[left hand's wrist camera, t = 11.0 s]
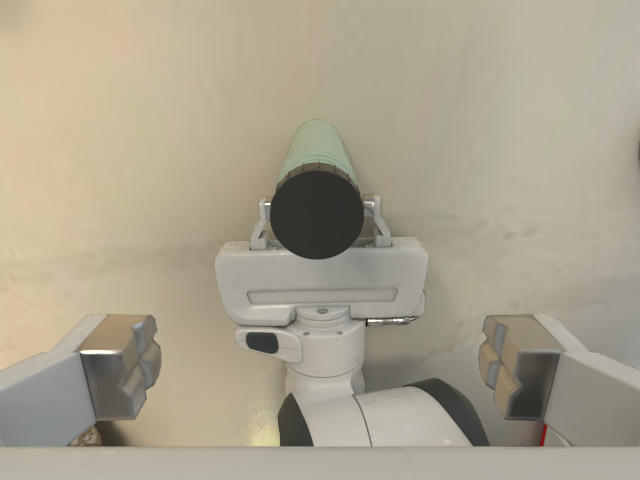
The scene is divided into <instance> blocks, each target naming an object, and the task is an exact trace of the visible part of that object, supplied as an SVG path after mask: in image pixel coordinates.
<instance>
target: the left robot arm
mask: <svg viewBox="0 0 640 480" xmlns="http://www.w3.org/2000/svg"><path fill="white" fill-rule="evenodd" d="M156 332H157V326H156V321H155V318H154V317H153V316H152V315H128V314H90V315H86V316H85V317H84V318H83V319H82V320H81V321H80V322H79V323H78V324H77V325H76V326H75V327H74V328H73V329H72V330H71V331H70V332H69V333H68V334H67V335H66V336H65V337H64V338H63V339H62V340H61V341H60V342H59V343H58V344H57V345H56V346H55V347H54V348H53V349H52V350H51V351H50V352H42V353H39V354H37V355H35V356H32V357H30V358H28V359H26V360H23V361H21V362H19V363H17V364H14V365H12V366H10V367H7V368H5V369H3V370H1V371H0V480H640V371H639V370H637V369H635V368H632V367H630V366H628V365H626V364H623V363H621V362H619V361H617V360H614V359H612V358H610V357H608V356H605V355H603V354H601V353H598V352H590V351H589V350H588V349H587V348H586V347H585V346H584V345H583V344H582V343H581V342H580V341H579V340H578V339H577V338H576V337H575V336H574V335H573V334H572V333H571V332H570V331H569V330H568V329H567V328H566V327H565V326H564V325H563V324H562V323H561V322H560V321H559V320H558V319H557V318H556V317H555V316H554V315H551V314H527V315H490V316H487V317H486V319H485V321H484V325H483V332H484V334H485V335H486V337H487V339H486V340H485V342H484V343H483V344H482V345H481V346H480V350H479V369H480V372H481V376H482V378H483V380H484V382H485V384H486V385H487V386H488V387H490V388H491V389H493V390H494V391H495V392H494V397H493V399H494V401H495V402H496V404H497V406H498V408H499V410H500V411H501V413H502V415H503V417H504V419H505V420H530V421H544V422H543V423H545V424H546V425H547V426H548V427H550V428H551V429H552V430H553V431H555V432H556V433H557V434H559V435H560V436H561V437H562V438H564V439H565V440H566V441H568V442H569V443H570V444H571V445H573V446H438V447H245V446H244V447H243V446H67V445H69V444H70V443H71V442H73V441H74V440H75V439H76V438H78V437H79V436H80V435H82V434H83V433H84V432H85V431H87V430H88V429H89V428H91V427H92V426H93V425H94V424H96V421H109V420H135V419H136V417H137V415H138V413H139V411H140V410H141V408H142V406H143V404H144V402H145V401H146V399H147V397H146V392H145V391H146V390H147V389H149V388H150V387H152V386H153V385H154V384H155V382H156V380H157V378H158V376H159V372H160V368H161V349H160V346H159V345H158V344H157V343H156V342H155V341H154V339H153V337H154V335H155V334H156Z"/></svg>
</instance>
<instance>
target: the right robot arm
mask: <svg viewBox="0 0 640 480" xmlns="http://www.w3.org/2000/svg"><path fill="white" fill-rule="evenodd" d="M272 198H273V197H261V198H260V201H259V208H260V219H259V221H258V222H257V224H256V226H255V228H254V230H253V233H252V235H251V237H250V241H228V242H226V243H225V244H224V245H223V246H222V248H221V249H220V250H219V252H218V253H217V255H216V257H215V261H214V269H215V276H216V281H217V286H218V290H219V294H220V298H221V301H222V305H223V307H224V310H225V312H226V314H227V315H228V317H229V318H230V319H231V320H232V321H234V322H235V323H236V328H235V343H236V345H237V346H238V347H240V348H242V349H245V350H249V351H254V352H258V353H262V354H266V355H269V356H272V357H276V358H279V359H281V360H283V361H284V364H285V366H286V368H287V376H286V380H285V397H286V398H285V400H284V402H283V404H282V406H281V408H280V411H279V413H278V426H279V432H280V447H438V446H490V444H489V442H488V439H487V437H486V434H485V432H484V429H483V427H482V424H481V422H480V419H479V417H478V415H477V413H476V411H475V409H474V407H473V405H472V404H471V402H470V401H469V400H468V399H467V398H466V397H465V396H464V395H463V394H462V393H461V392H459V391H458V390H457V389H455V388H454V387H452V386H451V385H449V384H447V383H445V382H444V381H442V380H440V379H437V378H431V379H427V380H423V381H419V382H416V383H412V384H408V385H405V386H402V387H400V388H394V389H388V390H382V391H376V392H370V393H365V382H364V377H363V374H362V371H361V369H362V365H363V363H364V359H365V345H366V327H367V326H383V325H389V324H390V325H391V324H396V325H407V324H409V323H410V321H413V320H415V319H417V318H419V317H420V316H421V315H422V314H423V313H424V309H425V299H426V295H425V291H424V290H423V289H424V285H425V280H426V275H427V269H428V261H429V257H428V253H427V251H426V249H425V247H424V246H423V245H422V243H421V242H420V241H419V240H418V239H417V238H415V237H391V233H390V231H389V229H388V227H387V225H386V223H385V221H384V220H383V218H382V216H381V215H380V197H379V195H378V194H367V195H362V201H363V206H364V217H373V219H374V221H375V222H376V224H377V226H378V228H374V236H373V238H357V239H356V241H355V242H354V243H353V244H352V245H351V246H350V247H349V248H348V249H347V250H346V251H344V252H343V253H341V254H339V255H337V256H334V257H332V258H328V259H322V260H312V259H306V258H302V257H299V256H297V255H295V254H293V253H291V252H290V251H288V250H287V249H286V248H285V247H284V246H283V245H282V244H281V243H280V242H279V241H278V240H268V233H267V231H262V230H263V228H264V226H265V224H266V222H267V220H270V207H271V205H270V203H271V200H272ZM409 316H412V317H409Z"/></svg>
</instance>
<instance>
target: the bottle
mask: <svg viewBox="0 0 640 480" xmlns="http://www.w3.org/2000/svg"><path fill="white" fill-rule="evenodd" d="M318 161H320V163H327V164H331V165H333V166H334V165H336V167H338V168H339V169H341V170H343V171H344V172H345V173H346V174H347V173H348V174H349V176H350V178H351V179H352V180H353V181H354V183H355V185H356V186H357V181H356V178H355V175H354V172H353V170H352V167H351V164H350V162H349V159H348V157H347V154H346V151H345V149H344V146H343V143H342V141H341V138H340V136H339V133H338V131H337V130H336V128H335V127H334V126H333V125H332V124H330V123H329V122H327V121H324V120H319V119H315V120H310V121H308V122H306V123H304V124H303V125H301V126H300V128H299V129H298V130H297V132H296V134H295V136H294V139H293V142H292V144H291V147H290V149H289V152H288V154H287V157H286V160H285V162H284V165H283V167H282V170H281V172H280V175H279V178H278V181H277V185H278V182H281V180H282V179H283V178H284V176H285V175H286V174H287V173H288V171H289V170H290V171H291V170H293V169H294V168H296V167H298V166H301V165H302V164H303V163H304V164H307V163H313V162H318Z"/></svg>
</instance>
